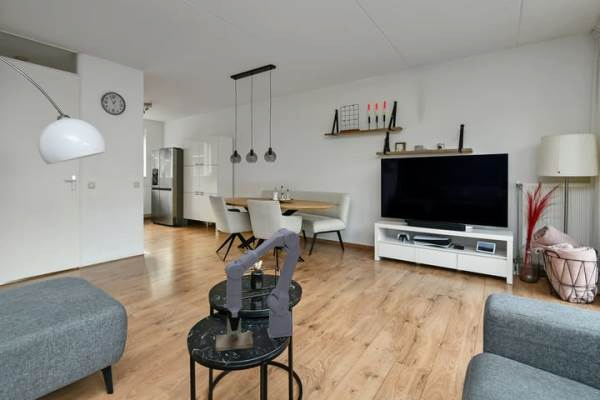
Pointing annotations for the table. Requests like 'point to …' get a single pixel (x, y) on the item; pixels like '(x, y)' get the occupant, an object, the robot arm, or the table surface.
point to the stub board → (234, 341)
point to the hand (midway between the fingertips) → (234, 326)
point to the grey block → (229, 331)
